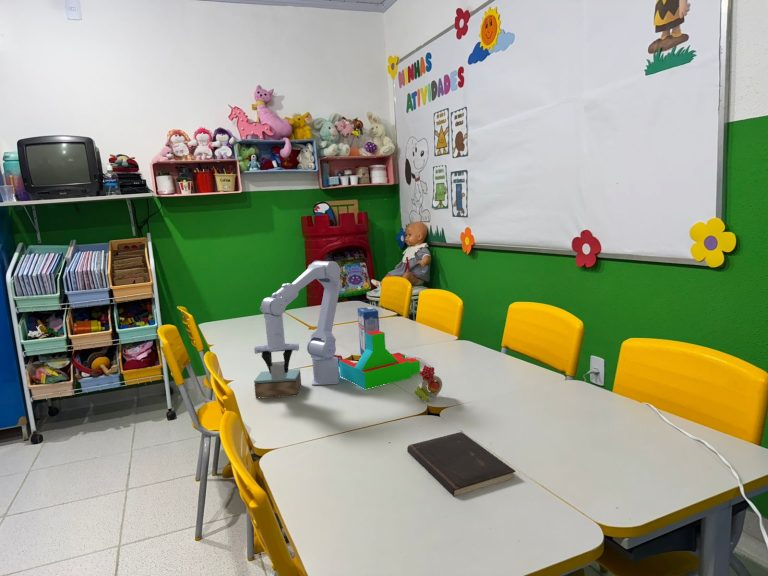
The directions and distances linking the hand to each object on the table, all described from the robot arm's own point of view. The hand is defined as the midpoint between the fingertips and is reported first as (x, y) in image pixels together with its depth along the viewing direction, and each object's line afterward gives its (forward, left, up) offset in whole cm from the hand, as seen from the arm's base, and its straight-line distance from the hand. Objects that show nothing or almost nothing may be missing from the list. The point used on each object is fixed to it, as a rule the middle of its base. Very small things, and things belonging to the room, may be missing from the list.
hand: (279, 372), depth 172 cm
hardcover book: (-51, +53, -10) cm, 74 cm away
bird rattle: (-49, +10, -9) cm, 51 cm away
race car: (-13, -33, -9) cm, 37 cm away
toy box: (+2, -6, -9) cm, 11 cm away
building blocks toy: (-34, -16, -9) cm, 39 cm away
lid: (+2, -6, -4) cm, 7 cm away
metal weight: (0, 0, -2) cm, 2 cm away
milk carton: (-30, -42, -9) cm, 53 cm away
